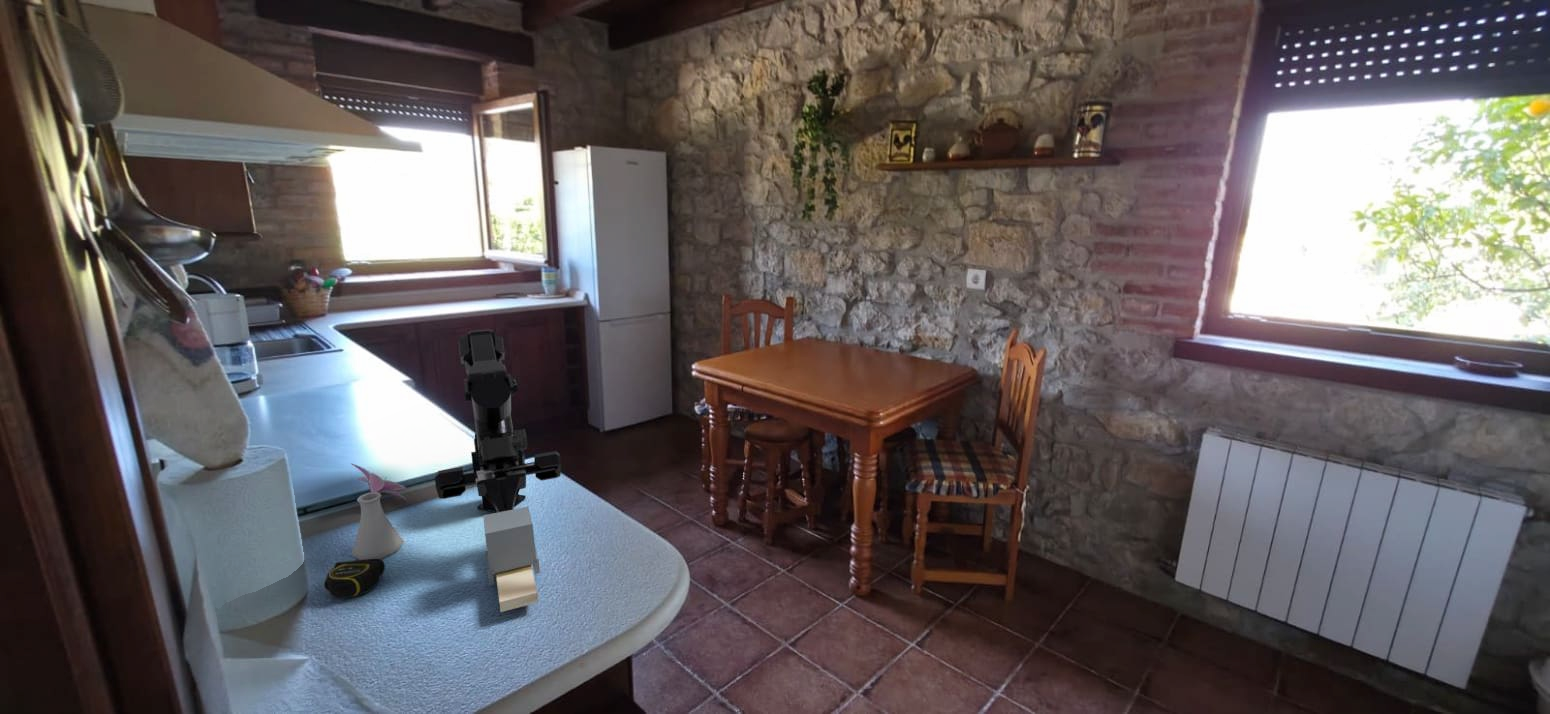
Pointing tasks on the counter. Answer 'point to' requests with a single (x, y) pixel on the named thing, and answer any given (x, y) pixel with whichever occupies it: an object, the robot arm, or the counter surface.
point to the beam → (516, 588)
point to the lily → (380, 483)
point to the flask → (374, 530)
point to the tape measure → (354, 577)
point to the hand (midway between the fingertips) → (507, 524)
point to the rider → (509, 541)
